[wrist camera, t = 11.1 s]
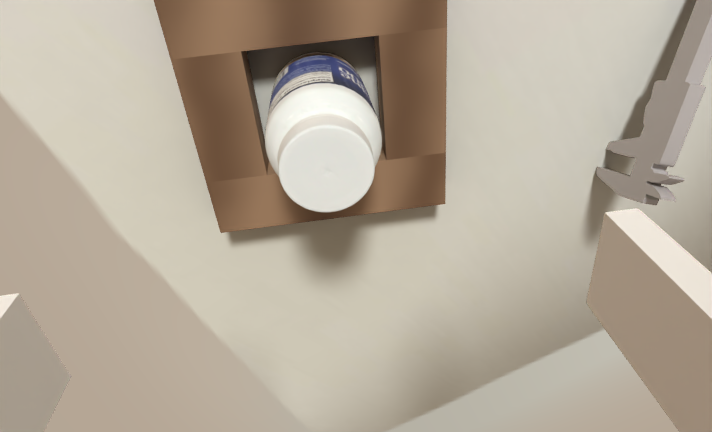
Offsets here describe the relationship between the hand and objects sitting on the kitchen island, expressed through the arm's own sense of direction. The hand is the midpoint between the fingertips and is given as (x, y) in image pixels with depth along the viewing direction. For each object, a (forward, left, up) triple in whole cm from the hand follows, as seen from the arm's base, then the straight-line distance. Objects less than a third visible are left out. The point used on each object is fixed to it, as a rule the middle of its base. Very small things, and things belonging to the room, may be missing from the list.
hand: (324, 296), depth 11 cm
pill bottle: (0, +1, -19) cm, 19 cm away
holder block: (0, +1, -19) cm, 19 cm away
